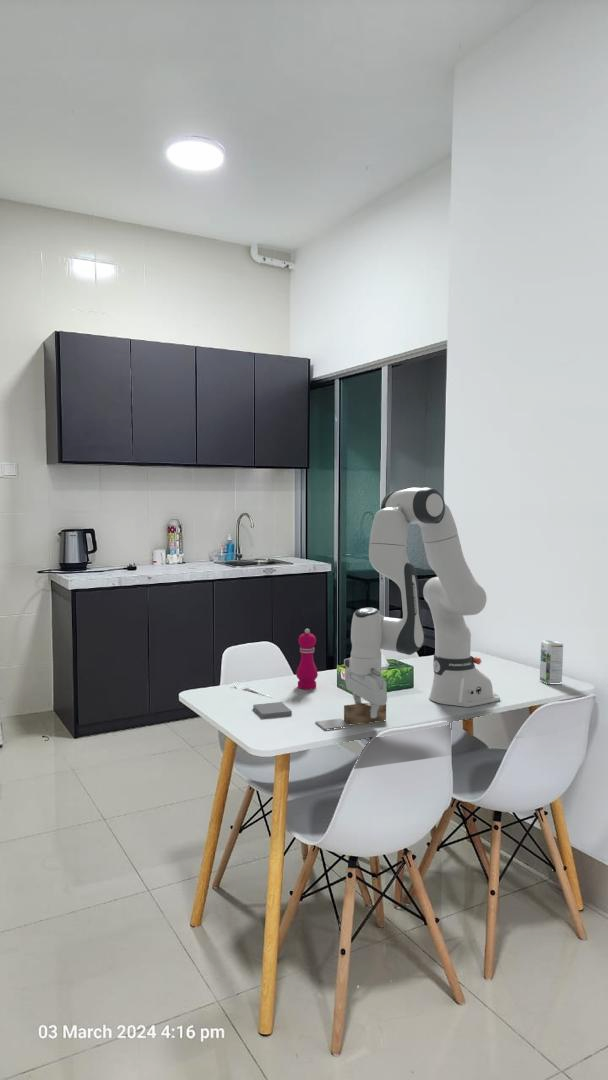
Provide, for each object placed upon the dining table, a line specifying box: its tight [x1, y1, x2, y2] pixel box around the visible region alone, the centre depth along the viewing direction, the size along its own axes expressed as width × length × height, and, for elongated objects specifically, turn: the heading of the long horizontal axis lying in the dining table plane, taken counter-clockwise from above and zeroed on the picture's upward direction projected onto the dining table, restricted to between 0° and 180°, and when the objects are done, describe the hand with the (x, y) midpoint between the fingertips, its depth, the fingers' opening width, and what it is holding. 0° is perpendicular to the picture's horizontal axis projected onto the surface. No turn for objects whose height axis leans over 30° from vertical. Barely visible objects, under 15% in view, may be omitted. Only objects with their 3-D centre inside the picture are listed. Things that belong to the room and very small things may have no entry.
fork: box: [231, 680, 271, 698], centre depth 242 cm, size 3×20×2 cm, turn 44°
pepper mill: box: [296, 628, 319, 690], centre depth 248 cm, size 7×7×20 cm
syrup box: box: [539, 639, 564, 684], centre depth 255 cm, size 6×6×14 cm
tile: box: [252, 701, 293, 719], centre depth 220 cm, size 2×10×9 cm
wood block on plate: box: [314, 702, 387, 731], centre depth 209 cm, size 20×7×5 cm, turn 111°
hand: (365, 712), depth 211 cm, fingers open, 8 cm apart
